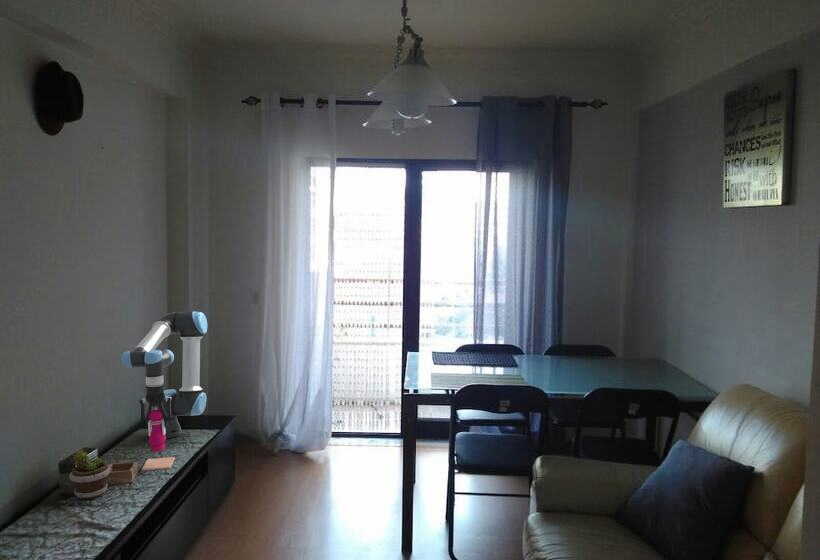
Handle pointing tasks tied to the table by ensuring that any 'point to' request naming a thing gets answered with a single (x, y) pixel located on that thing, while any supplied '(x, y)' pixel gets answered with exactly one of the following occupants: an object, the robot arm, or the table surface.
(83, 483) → the flowerpot
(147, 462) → the plate
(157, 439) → the pepper mill
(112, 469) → the wooden box
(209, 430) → the table surface
